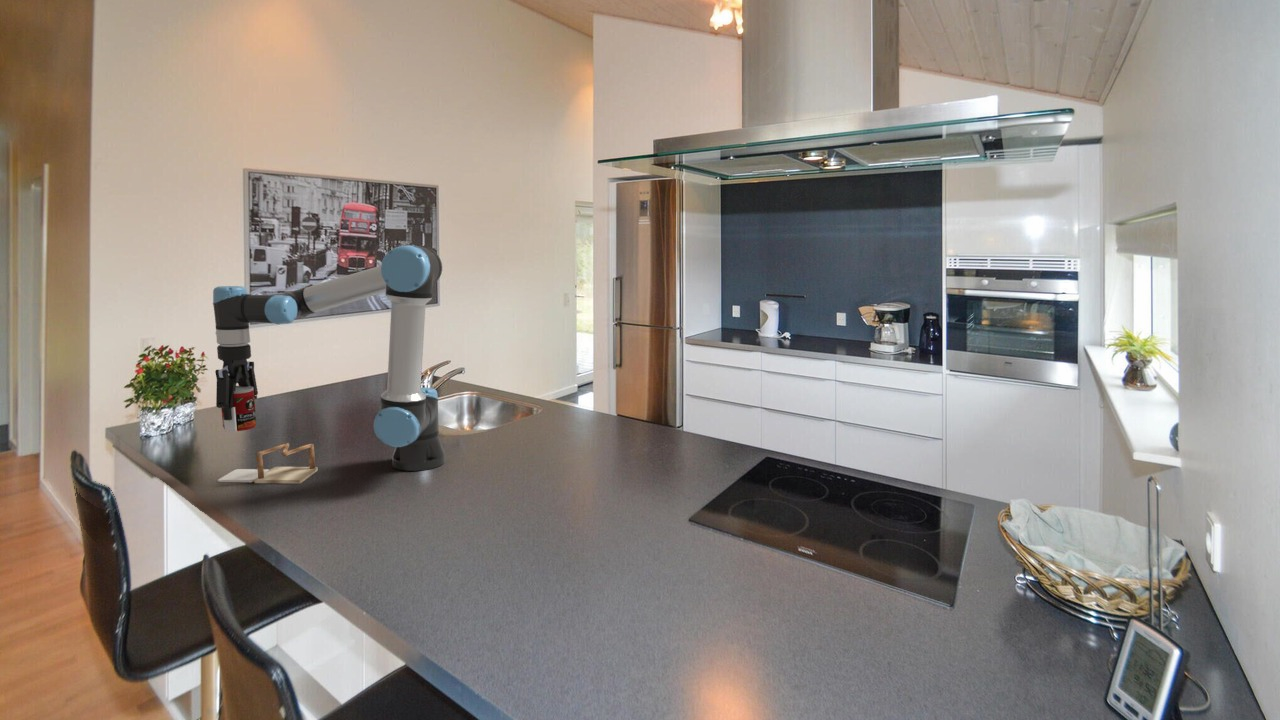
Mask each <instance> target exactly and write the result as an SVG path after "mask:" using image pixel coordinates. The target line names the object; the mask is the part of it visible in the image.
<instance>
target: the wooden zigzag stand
mask: <svg viewBox="0 0 1280 720" xmlns="http://www.w3.org/2000/svg"><path fill="white" fill-rule="evenodd" d="M289 447H290V443H289V442H285V443H284V444H280V445H277V446H273V447H270V448H267V449H264V450H260V451H258V452H256V453H255V456H256V466H257V467H256V469H257V471H258V478H256V479H255V480H254V481H253V482H254V484H289V485H290V484H295V485H296V484H297V485H300V484H302V483H304V481H306V480H307V479H308V478H310V477H311V476H313V475H314V474H315V473H317V472H318V471H319V467H318V466H316V460H315V459H316V458H315V456H316V455H315V445H314V443H308V444H305V445H301V446H298V447H296V448H294V449H289ZM282 449H283V451H282V453H281V455H282V457H287V456H289V455H292V454H295V453H299V452H302V451H304V450H307V449H308V461H309V462H308V463H309V466H274V467H272V468H270V469H269V471H267V472H266V473H264V470H263V469H264V461H263V458H264V457H263V456H264V455H266V454H269V453H273V452H276V451H279V450H282Z"/></svg>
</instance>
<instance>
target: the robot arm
mask: <svg viewBox="0 0 1280 720" xmlns="http://www.w3.org/2000/svg"><path fill="white" fill-rule="evenodd" d="M442 272H443V263H442V260H441V257H440V256H439V255H438V253H437V252H436V251H435V250H433V249H431V248H430V247H429V246H424V245H423V246H422V245H412V244H403V245H399V246H397V247H394V248H392V249H391V250H389V251H388V252H387V253H386V254H385V255H384V257H383V258H382V261H381V265H377V266H374V267H372V268H368V269H365V270H361V271H358V272H355V273H350V274H347V275H344V276H340V277H337V278H334V279H331V280H327V281H324V282H320V283H318V284H317V283H316V284H314V285H311V286H306V287H303V288H300V289H296V290H292V291H289V292H288V291H287V292H285V293H284V292H283V293H282V292H281V293H276V294H273V293H272V294H250V293H248V292H247V288H246V287H245V286H238V285H219V286H216V287H214V288H213V290H212V291H213V292H212V300H213V301H212V306H213V312H214V322H215V323H214V324H215V335H216V337H215V338H216V343H217V345H218V346H216V350H217V358H218V360H219V361H222V362H223V363H222V368H221V369H216V370H215V377H216V395H215V396H216V403H215V405H216V408H218V409H221V408H223V416H224V427H225V429H224V432H228V433H229V432H230V433H231V432H232V433H233V432H238V431H237V424H236V411H235V407H233V402H234V391H235V389H236V386H240V387H248V386H252V387H253V388H254V397H255V400H257V399H258V395H259V392H258V391H259V390H258V385H257V381H256V380H257V379H256V375H255V362H254V361H248V359H251V357H252V351H251V350H252V349H251V345H250V344H249V343H250V342H251V337H250V336H251V335H250V323H251V324H253V323H255V324H256V323H257V324H275V325H281V324H282V325H283V324H291V323H293V322H294V321H295V319H301V318H305V317H308V316H310V315H314V314H316V313H320V312H322V311H325V310H330V309H333V308H336V307H339V306H344V305H346V304H350V303H354V302H356V301H360V300H364V299H367V298H371V297H374V296H377V295H380V294H384V293H385V296H386V297H387V298H388V299H389V300H390V302H391V303H390V304H391V305H390V324H389V346H388V361H387V362H388V363H387V365H388V367H387V382H386V383H387V384H386V387H387V388H386V389H385V390H384V391H383V392H382V393H381V394H380V403H379V405H380V406H379V411H378V413H377V414H376V415H375V417H374V421H373V431H374V433H375V436H376V437H377V438H378V439H379V440H380V441H381V442H382V443H383V444H384V445H387V446H389V447H393V448H394V451H393V454H392V456H391V460H392V461H391V464H392V467H393V468H395V469H397V470H400V471H408V472H409V471H410V472H417V471H419V472H420V471H425V470H430V469H435V468H437V467H440V466H442V465H444V464H445V463H446V453H445V449H444V447H443V444H442V441H441V439H440V436H439V435H440V434H439V429H440V428H439V397H438V391H437V390H436V389H435V388H432V387H422V373H423V372H422V370H423V355H424V340H425V339H424V337H425V322H426V321H425V319H426V305H427V304H428V303H429V302H430V301H432V299H433V287H434V285H435V284H437V282H438V281H439V279H440V278H441V275H442ZM237 384H238V385H237ZM224 427H223V428H224Z"/></svg>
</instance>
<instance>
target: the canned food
mask: <svg viewBox="0 0 1280 720" xmlns="http://www.w3.org/2000/svg"><path fill="white" fill-rule="evenodd" d="M233 407H235V411H236V424H237V431H236V432H240V431H249V430H252V429H254V428H256V425H257V414H256V412H257V411H256V399H255V397H254V388H253V387H252V386H248V387H240V386H239V385H236V389H235V391H234V402H233ZM220 409H221V419H222V427H223V429H224V430H225V427H224V416H223V408H220Z"/></svg>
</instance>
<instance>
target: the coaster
mask: <svg viewBox="0 0 1280 720" xmlns="http://www.w3.org/2000/svg"><path fill="white" fill-rule="evenodd" d="M263 470H264V473H266V472H267V471H269V470H270V469H267V468H263ZM256 478H258V471H257V468H255V469H254V468H236V469H234V470H232V471H230V472H229V473H226V475H224V476H222V477H220V478H217V482H218V483H253V482H254V480H255V479H256Z"/></svg>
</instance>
